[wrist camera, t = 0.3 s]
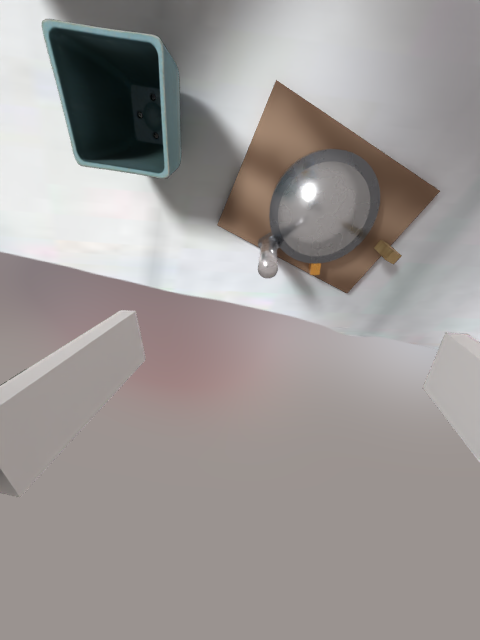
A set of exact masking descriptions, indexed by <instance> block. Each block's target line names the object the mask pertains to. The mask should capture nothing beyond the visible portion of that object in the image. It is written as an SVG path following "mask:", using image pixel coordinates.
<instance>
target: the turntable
mask: <svg viewBox="0 0 480 640" xmlns="http://www.w3.org/2000/svg"><path fill="white" fill-rule="evenodd" d="M379 205H380V187H379V183H378V179H377V177H376V175H375V173H374V171H373V169H372V168H371V166H370V165H369V164H368V163H367V162H366V161H365V160H364V159H363V158H361V157H360V156H358V155H356V154H354V153H352V152H349V151H346V150H339V149H324V150H318V151H315V152H312V153H309V154H307V155H305V156H303V157H302V158H300V159H299V160H297V161H296V162H295V163H293V164H292V165H291V166H290V167H289V168H288V169H287V170H286V171H285V172H284V174H283V175H282V176H281V178H280V179H279V181H278V183H277V185H276V187H275V189H274V191H273V194H272V198H271V203H270V213H269V220H270V228H271V232H270V233H268V234H266V235H265V236H263V237H262V238H260V239H259V240H258V246H259V248H260V257H259V265H258V272H259V274H260V275H261V276H262V277H263V278H272V277H274V276H275V275H276V273H277V271H278V265H277V249H278V248H281V249H282V250H283V252H285V253H286V254H287V255H288V256H290V257H292V258H293V259H296V260H298V261H301V262H305V263H309V268H308V269H309V272H310V275H320V268H321V263H325V262H330V261H333V260H336V259H338V258H340V257H342V256H344V255H346V254H348V253H349V252H350V251H352V250H353V249H354V248H356V247H357V246H358V245H359V244H360V243H361V242H362V241H363V240H364V238H365V237H366V236H367V234H368V233H369V231H370V230H371V228H372V226H373V224H374V222H375V220H376V217H377V214H378V211H379Z"/></svg>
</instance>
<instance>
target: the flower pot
mask: <svg viewBox="0 0 480 640" xmlns="http://www.w3.org/2000/svg"><path fill="white" fill-rule="evenodd" d="M42 30H43V34H44V39H45V42H46V47H47V51H48V54H49V58H50V62H51V66H52V69H53V73H54V77H55V80H56V84H57V88H58V92H59V96H60V100H61V104H62V108H63V112H64V116H65V120H66V124H67V128H68V132H69V136H70V140H71V145H72V149H73V154H74V156H75V159H76V161H77V163H78V164H79V165H81V166H85V167H92V168H99V169H107V170H114V171H120V172H126V173H133V174H139V175H144V176H150V177H155V178H161V179H166V178H168V177H169V176H170V175H171V174H172V173H173V172H174V171H175V170H176V169H177V168H178V167H179V165H180V162H181V133H180V85H179V71H178V68H177V65H176V63H175V61H174V60H173V58H172V56H171V55H170V53H169V52H168V50H167V49H166V47H165V46H164V44H163V42H162V41H161V39H160V38H159V37H158V36H156V35H152V34H145V33H137V32H129V31H122V30H113V29H108V28H100V27H94V26H89V25H83V24H77V23H71V22H64V21H59V20H54V19H45V20H43V21H42ZM152 94H154V95H155V97H156V99H155V101H153V100H152V99H151V95H152ZM139 112H141V113H142V115H143V117H142V118H140V117H139V116H138V113H139ZM154 133H157V134H158V138H155V137H154Z"/></svg>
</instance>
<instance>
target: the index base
mask: <svg viewBox="0 0 480 640" xmlns="http://www.w3.org/2000/svg"><path fill="white" fill-rule="evenodd" d="M324 149H339V150H346V151H349V152H352V153H354V154H356V155H358V156H360V157H361V158H363V159H364V160H365V161H366V162H367V163H368V164H369V165H370V166H371V168H372V169H373V171H374V173H375V175H376V177H377V179H378V183H379V187H380V205H379V211H378V214H377V217H376V220H375V222H374V224H373V226H372V228H371V230H370V231H369V233H368V234H367V236H366V237H365V238H364V240H363V241H362V242H361V243H360V244H359V245H358V246H357V247H356V248H354V249H353V250H352V251H350V252H349V253H348V254H346V255H344V256H342V257H340V258H338V259H336V260H333V261H330V262H325V263H321V268H320V275H313V276H315V277H317V278H319V279H321V280H322V281H324V282H326V283H328V284H330V285H332V286H334V287H336V288H338V289H340V290H342V291H343V292H345V293H348V292H349V291H350V290H351V289H352V287H353V286H354V285H355V284H356V283H357V282H358V281H359V280H360V279H361V278H362V277H363V275H364V274H365V273H366V272H367V271H368V270H369V269H370V268H371V267H372V266H373V264H374V263H375V262H376V261H377V260H378V259H379V258H380V257H381V256H382V257H383V258H384V259H385V260H387V261H388V262H390V263H392V264H394V263H395V262H396V261H397V260H398V259H399V258H400V257H401V256H402V255H400V254H399V253H398V252H397V251H396V250H395V249H394V248H392V247H391V245H392V244H393V242H394V241H395V240H396V239H397V238H398V237H399V236H400V235H401V234H402V233H403V231H404V230H405V229H406V228H407V227H408V226H409V225H410V224H411V223H412V222H413V220H414V219H415V218H416V217H417V216H418V215H419V214H420V213H421V212H422V211H423V209H424V208H425V207H426V206H427V205H428V204H429V203H430V202H431V201H432V200H433V199H434V197H435V196H436V195H437V194H438V193H439V192H440V191H439V190H438V189H436V188H435V187H433V186H432V185H430V184H429V183H427V182H426V181H424V180H423V179H422V178H420V177H419V176H417V175H416V174H414V173H413V172H411V171H410V170H408V169H407V168H405V167H404V166H402V165H401V164H399V163H398V162H396V161H395V160H393V159H392V158H391V157H389V156H388V155H386V154H385V153H383V152H382V151H380V150H379V149H377V148H376V147H374V146H373V145H371V144H370V143H368V142H367V141H365V140H364V139H362V138H361V137H360V136H358V135H357V134H355V133H354V132H352V131H351V130H349V129H348V128H346V127H345V126H343V125H342V124H340V123H339V122H337V121H336V120H334V119H333V118H331V117H330V116H328V115H327V114H326V113H324V112H323V111H321V110H320V109H318V108H317V107H315V106H314V105H312V104H311V103H309V102H308V101H306V100H305V99H303V98H302V97H300V96H299V95H297V94H296V93H295V92H293V91H292V90H290V89H289V88H287V87H286V86H284V85H283V84H281V83H280V82H278V81H277V80H276V82H275V85H274V87H273V89H272V92H271V94H270V97H269V99H268V102H267V104H266V107H265V109H264V112H263V114H262V117H261V119H260V121H259V124H258V126H257V129H256V131H255V134H254V136H253V139H252V141H251V144H250V146H249V148H248V151H247V153H246V156H245V158H244V161H243V163H242V166H241V168H240V171H239V173H238V175H237V178H236V180H235V183H234V185H233V188H232V190H231V193H230V195H229V198H228V200H227V202H226V205H225V207H224V210H223V212H222V215H221V217H220V220H219V222H218V226H220V227H222V228H224V229H225V230H227V231H229V232H231V233H233V234H235V235H237V236H239V237H241V238H243V239H244V240H246V241H248V242H250V243H252V244H254V245H256V246H258V240H259V239H260V238H262V237H263V236H265V235H266V234H268V233H270V232H271V228H270V220H269V213H270V203H271V198H272V194H273V191H274V189H275V187H276V185H277V183H278V181H279V179H280V178H281V176H282V175H283V174H284V172H285V171H286V170H287V169H288V168H289V167H290V166H291V165H292V164H293V163H295V162H296V161H297V160H299V159H300V158H302V157H303V156H305V155H307V154H309V153H312V152H315V151H318V150H324ZM258 247H259V246H258ZM277 257H279V258H281V259H283V260H284V261H286V262H288V263H290V264H292V265H294V266H296V267H298V268H300V269H302V270H303V271H305V272H307V273H309V274H310V272H309V269H308V268H309V263H305V262H301V261H298V260H296V259H293V258H292V257H290V256H288V255H287V254H286V253H285V252H283V250H282V249H281V248H278V249H277Z"/></svg>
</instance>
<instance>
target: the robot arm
mask: <svg viewBox="0 0 480 640" xmlns="http://www.w3.org/2000/svg"><path fill="white" fill-rule="evenodd" d="M145 360H146V358H145V353H144V349H143V344H142V339H141V334H140V330H139V324H138V319H137V315H136V311H127V310H120V311H119V312H117V313H116V314H114V315H113V316H111V317H109V318H108V319H106V320H105V321H103V322H102V323H100V324H98V325H97V326H95V327H93V328H92V329H90V330H89V331H87V332H86V333H84V334H82V335H81V336H79V337H78V338H76V339H74V340H73V341H71V342H69V343H68V344H67V345H65V346H63V347H61V348H60V349H58V350H57V351H55V352H54V353H52V354H50V355H49V356H47V357H46V358H44V359H43V360H41V361H39V362H38V363H36V364H34V365H33V366H31V367H30V368H28V369H25V370H24V371H22V372H21V373H19V374H17V375H16V376H14V377H13V378H11V379H9V381H6V382H4V383H3V384H1V385H0V493H2V494H7V495H12V496H16V497H21V496H22V495H23V494H24V492H25V491H26V490H27V489H28V488H29V487H30V486H31V485H32V484H33V482H35V480H36V479H37V478H38V477H39V476H40V475H41V474H42V473H43V472H44V470H45V469H46V468H47V467H48V466H49V465H50V464H51V463H52V462H53V461H54V460H55V458H56V457H57V456H58V455H59V454H60V453H61V452H62V451H63V450H64V449H65V448H66V446H67V445H68V444H69V443H70V442H71V441H72V440H73V439H74V438H75V437H76V435H77V434H78V433H79V432H80V431H81V430H82V429H83V428H84V427H85V426H86V425H87V423H88V422H89V421H90V420H91V419H92V418H93V417H94V416H95V415H96V414H97V413H98V411H99V410H100V409H101V408H102V407H103V406H104V405H105V404H106V403H107V402H108V400H109V399H110V398H111V397H112V396H113V395H114V394H115V393H116V392H117V391H118V389H119V388H120V387H121V386H122V385H123V384H124V383H125V382H126V381H127V380H128V378H129V377H130V376H131V375H132V374H133V373H134V372H135V371H136V370H137V369H138V368H139V367H140V365H141V364H142V363H143V362H144V361H145ZM423 389H424V390H425V392H426V393H427V394H428V396H429V397H430V398H431V400H432V401H433V402H434V404H435V405H436V406H437V408H438V409H439V410H440V411H441V413H442V414H443V415H444V416H445V418H446V419H447V421H448V422H449V423H450V424H451V426H452V427H453V428H454V430H455V431H456V432H457V434H458V435H459V436H460V438H461V439H462V440H463V442H464V443H465V444H466V445H467V447H468V448H469V449H470V450H471V452H472V453H473V455H474V456H475V457H476V459H477V460H478V461H479V463H480V342H479V341H477V340H476V339H474V338H473V337H471V336H470V335H468V334H459V333H445V335H444V338H443V340H442V342H441V345H440V347H439V350H438V352H437V354H436V357H435V359H434V362H433V364H432V366H431V369H430V371H429V374H428V376H427V379H426V381H425V383H424V386H423Z"/></svg>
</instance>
